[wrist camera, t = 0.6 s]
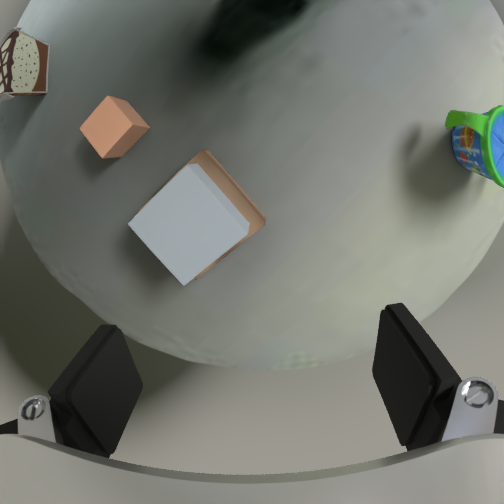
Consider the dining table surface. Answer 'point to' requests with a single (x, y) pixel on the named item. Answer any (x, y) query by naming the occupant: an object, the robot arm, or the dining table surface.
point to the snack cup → (479, 141)
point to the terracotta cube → (113, 127)
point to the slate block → (189, 223)
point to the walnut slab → (232, 194)
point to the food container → (23, 65)
